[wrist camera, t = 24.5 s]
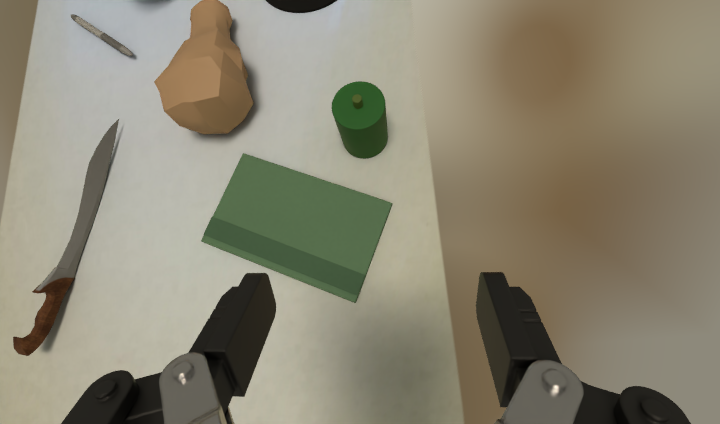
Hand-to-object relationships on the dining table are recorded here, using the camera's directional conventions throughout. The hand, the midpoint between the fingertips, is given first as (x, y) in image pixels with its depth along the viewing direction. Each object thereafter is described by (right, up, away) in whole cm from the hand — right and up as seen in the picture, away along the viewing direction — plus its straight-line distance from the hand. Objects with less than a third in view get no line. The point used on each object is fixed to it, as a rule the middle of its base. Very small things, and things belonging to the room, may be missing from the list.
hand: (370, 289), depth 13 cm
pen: (-38, +29, +39) cm, 62 cm away
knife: (-35, +1, +31) cm, 47 cm away
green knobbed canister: (0, +12, +30) cm, 32 cm away
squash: (-20, +21, +35) cm, 45 cm away
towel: (-8, +2, +28) cm, 29 cm away
